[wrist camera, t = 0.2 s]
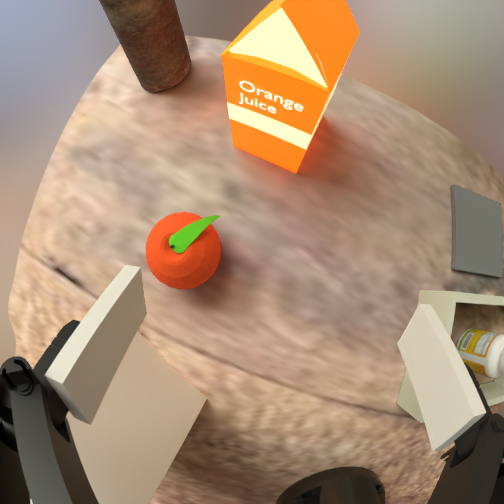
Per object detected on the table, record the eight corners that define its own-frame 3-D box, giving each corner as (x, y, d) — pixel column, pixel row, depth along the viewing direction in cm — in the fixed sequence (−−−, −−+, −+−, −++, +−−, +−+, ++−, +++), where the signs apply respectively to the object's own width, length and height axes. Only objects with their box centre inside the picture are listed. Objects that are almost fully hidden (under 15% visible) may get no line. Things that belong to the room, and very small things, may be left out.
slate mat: (498, 277, 28) (501, 277, 27) (451, 269, 28) (454, 268, 27) (497, 204, 29) (500, 203, 28) (450, 186, 29) (453, 184, 28)
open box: (495, 386, 26) (519, 395, 20) (396, 403, 26) (420, 422, 21) (512, 299, 28) (538, 300, 22) (419, 290, 28) (450, 291, 22)
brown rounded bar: (154, 55, 31) (113, -48, 11) (200, 56, 31) (175, -62, 11) (132, 93, 30) (69, -14, 10) (181, 95, 30) (135, -33, 10)
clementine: (203, 200, 29) (189, 177, 22) (247, 251, 28) (245, 241, 21) (147, 250, 28) (117, 242, 21) (187, 302, 28) (167, 309, 21)
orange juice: (232, 146, 29) (210, -7, 10) (265, 92, 30) (274, -49, 10) (297, 174, 29) (356, 33, 9) (324, 116, 30) (380, -17, 10)
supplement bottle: (477, 361, 27) (523, 375, 17) (452, 371, 27) (499, 390, 17) (480, 324, 27) (529, 331, 18) (455, 332, 27) (507, 343, 18)
